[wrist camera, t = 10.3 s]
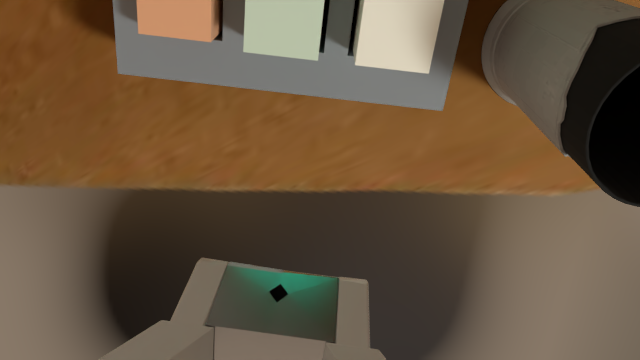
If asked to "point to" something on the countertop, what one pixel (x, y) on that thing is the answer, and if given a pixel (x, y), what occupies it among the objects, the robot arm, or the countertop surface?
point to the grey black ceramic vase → (574, 81)
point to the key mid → (283, 28)
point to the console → (289, 59)
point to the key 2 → (396, 33)
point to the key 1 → (181, 18)
